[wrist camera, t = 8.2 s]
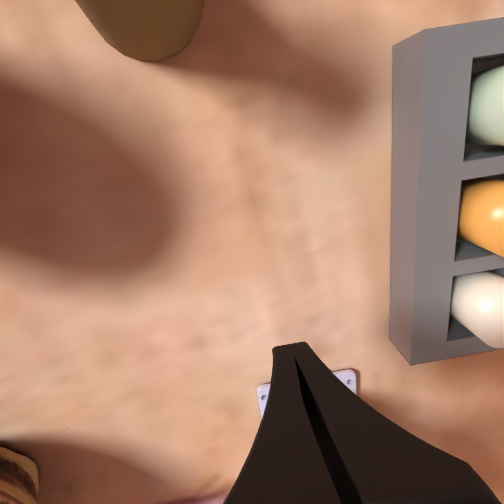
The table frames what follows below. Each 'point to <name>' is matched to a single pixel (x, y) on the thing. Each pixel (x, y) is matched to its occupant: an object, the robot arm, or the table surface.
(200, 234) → the table surface
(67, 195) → the table surface
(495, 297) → the cream egg
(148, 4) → the cork
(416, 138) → the grey compartment tray
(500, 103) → the pale green rounded blob
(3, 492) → the ceramic jug
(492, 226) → the orange rounded blob
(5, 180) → the table surface
